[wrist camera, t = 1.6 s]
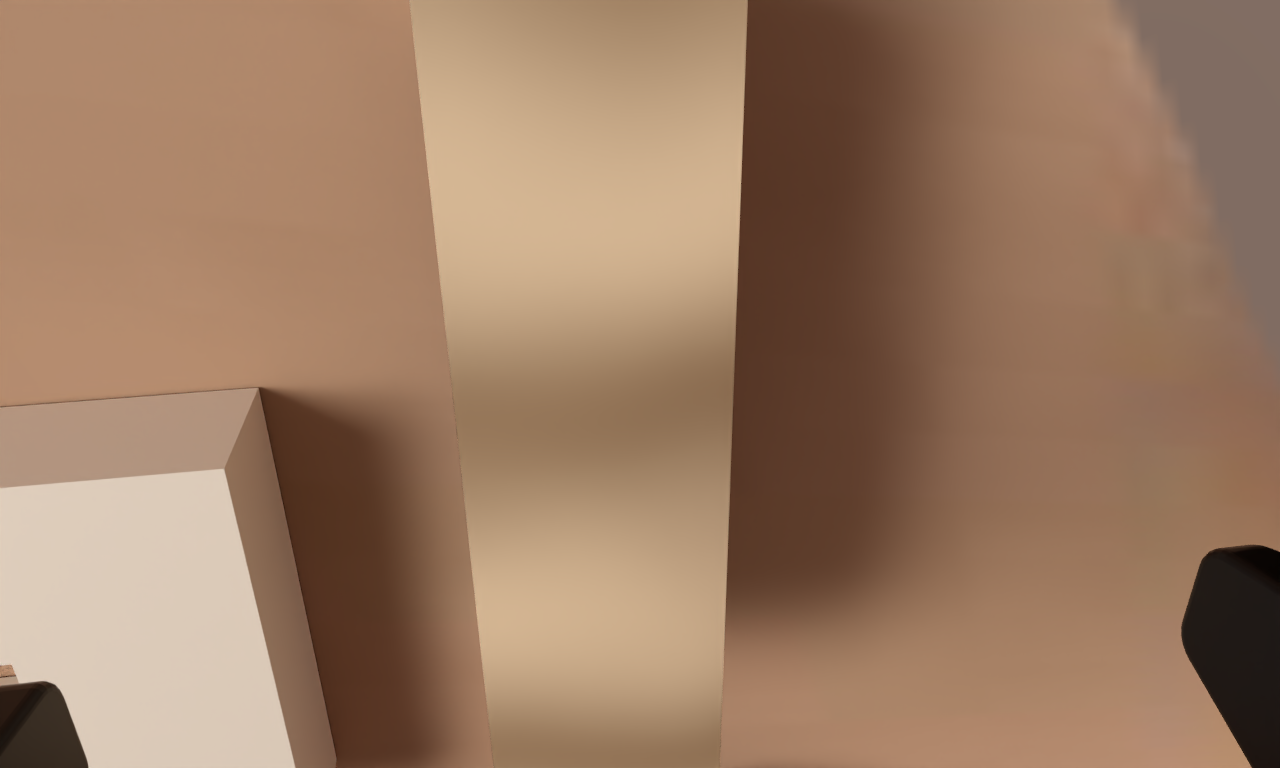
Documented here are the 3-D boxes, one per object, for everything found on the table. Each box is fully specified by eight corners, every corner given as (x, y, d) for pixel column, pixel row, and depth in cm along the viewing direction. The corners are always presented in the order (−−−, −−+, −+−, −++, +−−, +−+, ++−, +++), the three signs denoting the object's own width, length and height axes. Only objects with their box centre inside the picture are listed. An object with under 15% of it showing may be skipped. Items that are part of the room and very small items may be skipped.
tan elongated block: (665, 582, 23) (719, 772, 18) (491, 601, 22) (497, 802, 17) (666, -90, 16) (750, -83, 11) (421, -87, 16) (400, -76, 11)
